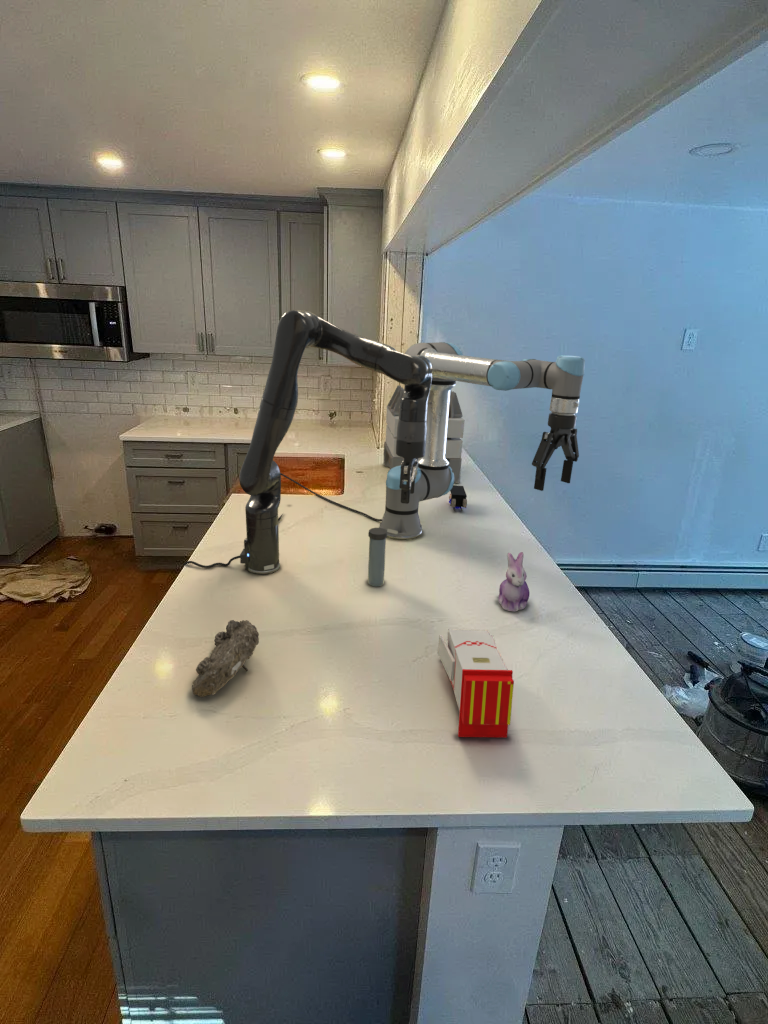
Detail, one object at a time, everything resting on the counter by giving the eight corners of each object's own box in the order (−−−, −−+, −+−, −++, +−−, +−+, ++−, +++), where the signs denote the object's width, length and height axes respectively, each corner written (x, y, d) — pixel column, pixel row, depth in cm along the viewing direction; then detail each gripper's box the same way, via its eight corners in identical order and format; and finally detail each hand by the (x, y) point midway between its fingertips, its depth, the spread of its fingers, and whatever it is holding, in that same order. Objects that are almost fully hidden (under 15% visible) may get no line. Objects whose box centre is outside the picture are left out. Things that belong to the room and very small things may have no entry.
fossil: (211, 622, 131) (258, 592, 126) (240, 650, 134) (286, 622, 129) (171, 690, 112) (224, 658, 107) (205, 721, 115) (258, 691, 110)
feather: (290, 508, 223) (292, 504, 223) (272, 532, 197) (275, 527, 196) (286, 505, 223) (289, 501, 223) (268, 529, 197) (271, 525, 196)
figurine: (511, 616, 149) (518, 564, 143) (487, 598, 157) (493, 549, 152) (539, 609, 153) (547, 558, 148) (514, 592, 161) (521, 544, 156)
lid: (380, 531, 162) (380, 526, 162) (390, 537, 158) (391, 532, 158) (364, 534, 159) (364, 529, 159) (375, 541, 155) (375, 535, 155)
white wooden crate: (382, 463, 289) (386, 382, 275) (445, 464, 293) (451, 384, 279) (390, 482, 257) (394, 392, 243) (460, 483, 261) (468, 394, 247)
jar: (377, 577, 167) (380, 528, 162) (387, 584, 163) (389, 533, 158) (364, 581, 164) (366, 531, 159) (373, 587, 161) (375, 536, 155)
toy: (488, 613, 130) (523, 677, 101) (484, 667, 133) (517, 744, 104) (435, 612, 130) (455, 676, 101) (432, 666, 133) (451, 743, 103)
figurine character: (467, 516, 223) (461, 500, 237) (469, 499, 220) (463, 483, 233) (450, 516, 223) (446, 499, 236) (452, 498, 220) (447, 483, 233)
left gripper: (401, 430, 151) (398, 488, 156) (391, 441, 137) (388, 505, 143) (429, 433, 149) (425, 491, 155) (422, 444, 136) (417, 508, 142)
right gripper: (548, 419, 148) (537, 496, 155) (598, 411, 163) (586, 482, 171) (525, 414, 153) (515, 489, 160) (575, 407, 169) (564, 476, 176)
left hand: (407, 497), depth 149 cm, fingers open, 8 cm apart
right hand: (552, 485), depth 166 cm, fingers open, 13 cm apart
